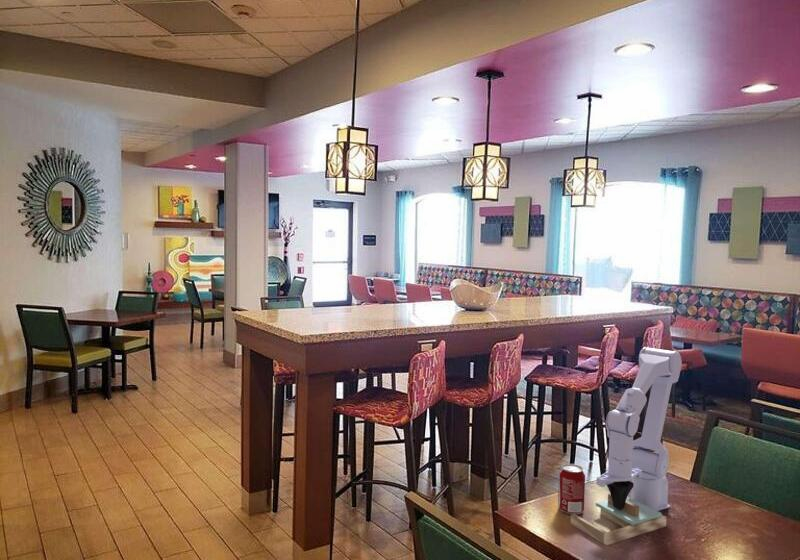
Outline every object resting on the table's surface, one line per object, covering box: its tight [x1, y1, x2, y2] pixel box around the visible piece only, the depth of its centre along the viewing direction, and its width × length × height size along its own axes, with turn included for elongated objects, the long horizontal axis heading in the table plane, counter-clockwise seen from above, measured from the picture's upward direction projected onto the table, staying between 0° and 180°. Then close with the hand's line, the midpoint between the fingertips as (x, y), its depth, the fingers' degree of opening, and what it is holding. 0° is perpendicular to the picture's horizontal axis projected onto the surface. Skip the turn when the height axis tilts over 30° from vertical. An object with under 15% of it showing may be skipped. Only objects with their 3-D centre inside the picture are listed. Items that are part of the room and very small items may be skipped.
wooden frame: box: [570, 508, 667, 546], centre depth 150 cm, size 22×13×2 cm, turn 118°
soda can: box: [557, 463, 586, 516], centre depth 157 cm, size 7×7×12 cm
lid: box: [595, 492, 663, 525], centre depth 152 cm, size 11×12×3 cm
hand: (618, 508), depth 150 cm, fingers closed
